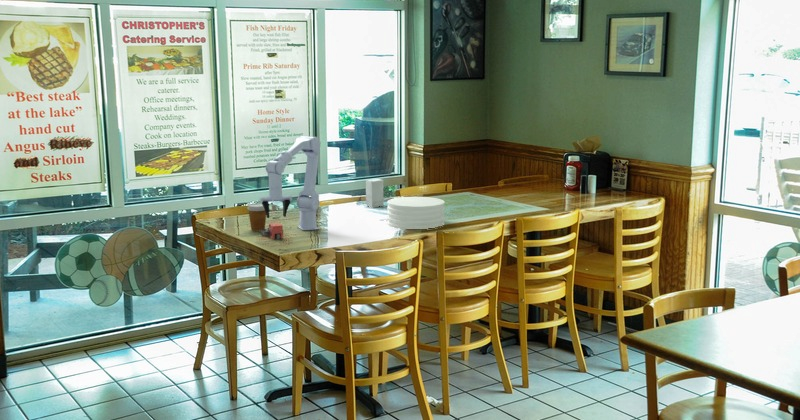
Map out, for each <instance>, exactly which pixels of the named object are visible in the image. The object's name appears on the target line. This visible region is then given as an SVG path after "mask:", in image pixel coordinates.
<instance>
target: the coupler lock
mask: <svg viewBox="0 0 800 420" xmlns="http://www.w3.org/2000/svg"><path fill="white" fill-rule="evenodd" d="M283 227H284V225H283V224H281V223H280V222H272V223H271V222H269V223H268V228H269V237H270V238H271V239H272V240H276V238H275V234H280V239H279V240H282V238H283V239H284V228H283Z"/></svg>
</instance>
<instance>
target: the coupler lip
mask: <svg viewBox="0 0 800 420" xmlns="http://www.w3.org/2000/svg"><path fill="white" fill-rule="evenodd" d="M260 234H261V235H263V237H267V236H269V227H267V228H265V229H261V231H260ZM269 237H270V236H269ZM275 240H281V239H280V234H275Z"/></svg>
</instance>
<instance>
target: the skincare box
mask: <svg viewBox="0 0 800 420" xmlns="http://www.w3.org/2000/svg"><path fill="white" fill-rule="evenodd" d="M384 199H385V198H384V179H380V178H372V179H366V180H365V201H366V202H365V206H366V205H367V206H370V207H369V208H371V207H374V208H379V206H380V207H384ZM367 206H366V207H367Z"/></svg>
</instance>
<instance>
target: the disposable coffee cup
mask: <svg viewBox="0 0 800 420" xmlns="http://www.w3.org/2000/svg"><path fill="white" fill-rule="evenodd" d="M246 209H247V210H248V218H249V224H250V229H251V231H253V232H261V229H266V220H267V216H266V212H265V209H264V207H263V205H262V202H259V203H250V204H248V205H247V208H246Z"/></svg>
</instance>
